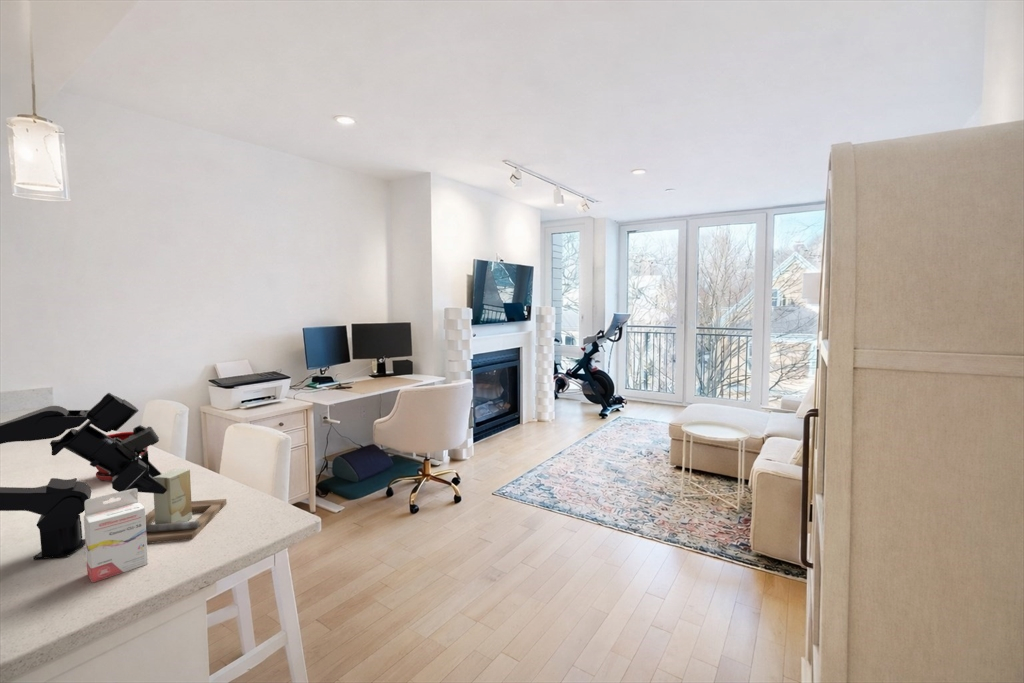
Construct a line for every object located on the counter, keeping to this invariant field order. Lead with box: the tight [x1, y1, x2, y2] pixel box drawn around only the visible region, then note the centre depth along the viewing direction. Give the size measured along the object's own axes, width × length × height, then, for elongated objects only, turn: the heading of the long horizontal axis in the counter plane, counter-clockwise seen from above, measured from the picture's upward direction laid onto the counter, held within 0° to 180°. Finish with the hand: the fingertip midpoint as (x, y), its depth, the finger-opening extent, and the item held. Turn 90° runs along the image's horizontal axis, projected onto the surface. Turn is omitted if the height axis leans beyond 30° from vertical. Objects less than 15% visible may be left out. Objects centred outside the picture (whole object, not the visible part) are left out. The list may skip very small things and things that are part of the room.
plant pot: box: [94, 431, 149, 482], centre depth 138 cm, size 13×13×12 cm
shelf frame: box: [145, 498, 228, 544], centre depth 108 cm, size 18×15×3 cm
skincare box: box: [153, 468, 193, 524], centre depth 108 cm, size 6×4×12 cm
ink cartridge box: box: [83, 488, 149, 583], centre depth 89 cm, size 9×5×15 cm, turn 141°
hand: (164, 485), depth 107 cm, fingers open, 9 cm apart
